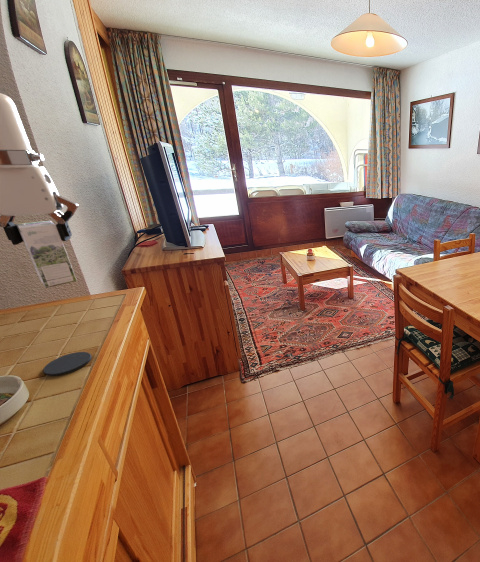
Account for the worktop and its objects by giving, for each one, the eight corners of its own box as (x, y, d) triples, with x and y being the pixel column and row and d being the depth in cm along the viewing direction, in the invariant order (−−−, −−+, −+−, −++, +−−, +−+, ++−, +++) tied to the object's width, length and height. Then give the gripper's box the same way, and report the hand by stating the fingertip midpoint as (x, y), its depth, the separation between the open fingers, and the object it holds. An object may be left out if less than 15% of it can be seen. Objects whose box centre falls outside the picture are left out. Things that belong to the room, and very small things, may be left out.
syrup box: (72, 276, 79) (50, 219, 73) (78, 281, 76) (55, 223, 70) (40, 282, 75) (15, 223, 69) (45, 289, 71) (19, 227, 66)
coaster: (36, 380, 63) (35, 377, 62) (53, 358, 69) (52, 356, 69) (84, 370, 66) (83, 368, 65) (96, 350, 72) (95, 348, 72)
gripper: (71, 159, 71) (96, 234, 78) (-39, 158, 64) (0, 241, 71) (57, 160, 65) (86, 241, 72) (-66, 159, 58) (-21, 250, 65)
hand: (43, 241), depth 71 cm, fingers closed on syrup box, 7 cm apart
